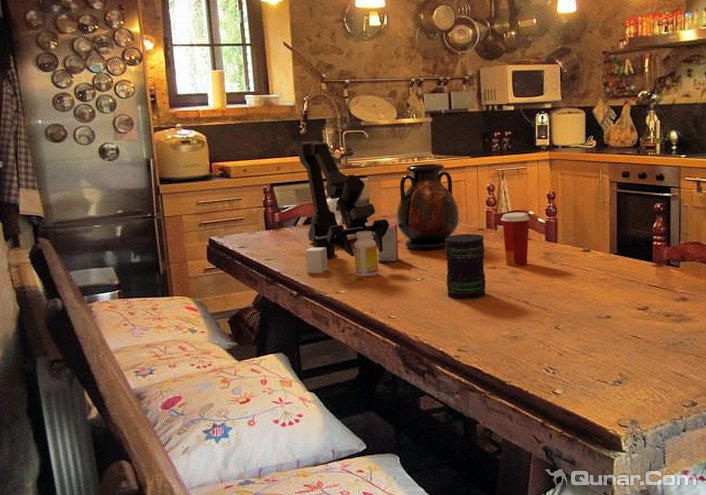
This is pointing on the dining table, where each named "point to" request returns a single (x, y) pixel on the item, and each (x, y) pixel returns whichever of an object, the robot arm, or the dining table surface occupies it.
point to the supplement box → (389, 246)
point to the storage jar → (465, 266)
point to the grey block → (316, 260)
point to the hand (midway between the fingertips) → (367, 253)
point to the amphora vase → (427, 208)
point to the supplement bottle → (365, 254)
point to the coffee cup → (516, 238)
